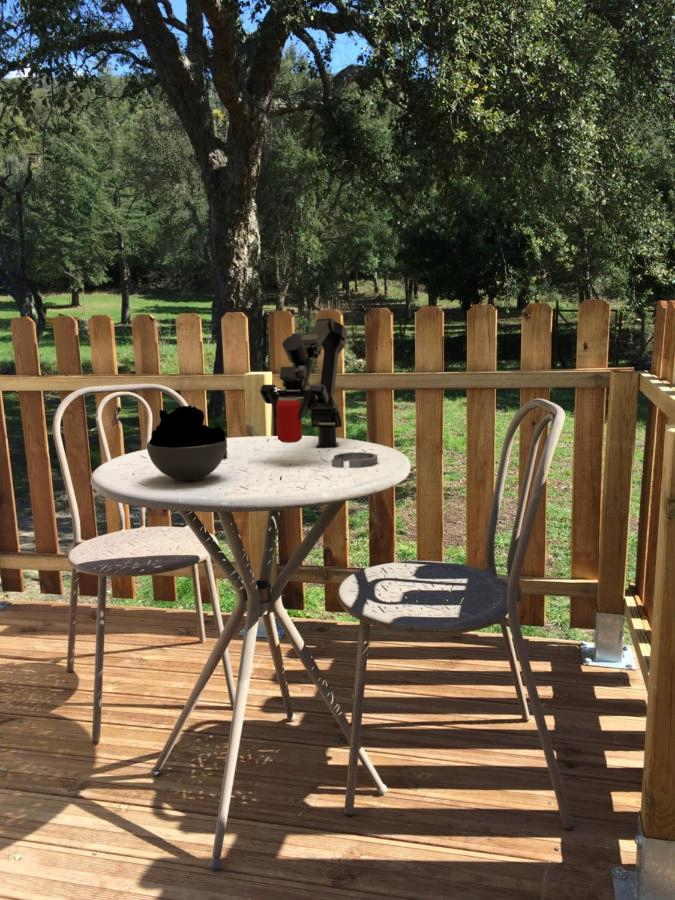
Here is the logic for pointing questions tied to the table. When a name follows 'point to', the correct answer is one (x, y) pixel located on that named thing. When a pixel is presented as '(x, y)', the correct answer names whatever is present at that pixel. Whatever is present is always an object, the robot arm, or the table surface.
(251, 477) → the table surface
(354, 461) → the ring collar
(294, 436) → the beverage can
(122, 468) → the table surface
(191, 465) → the coal bowl
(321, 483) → the table surface
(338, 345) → the robot arm
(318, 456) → the table surface
